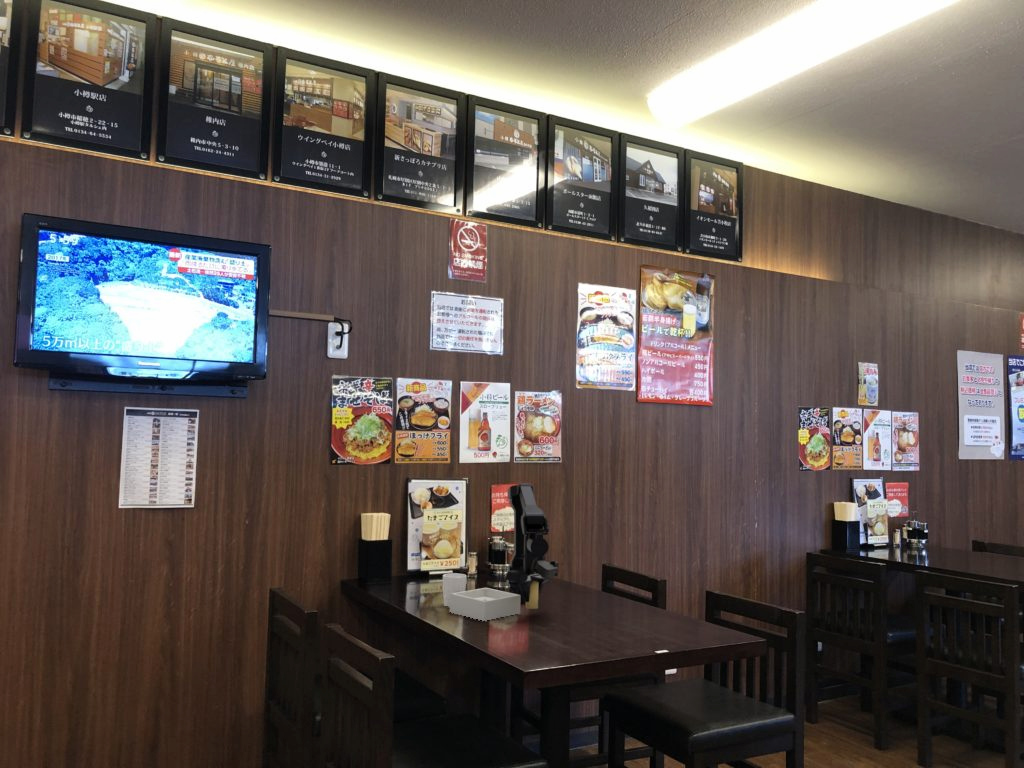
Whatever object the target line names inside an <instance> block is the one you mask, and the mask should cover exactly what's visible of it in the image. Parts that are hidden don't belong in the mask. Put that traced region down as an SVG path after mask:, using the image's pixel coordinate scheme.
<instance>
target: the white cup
mask: <svg viewBox="0 0 1024 768" xmlns="http://www.w3.org/2000/svg"><path fill="white" fill-rule="evenodd" d="M466 584H467V575H466V574H464V573H456V572H453V573H452V572H451V573H444V574H443V575H442V597H443V606H444V607H445V606H448V607H447V608H450V594H451V593H457V592H463V591H466V588H467V587H466V586H467V585H466Z"/></svg>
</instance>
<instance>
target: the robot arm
mask: <svg viewBox="0 0 1024 768" xmlns="http://www.w3.org/2000/svg"><path fill="white" fill-rule="evenodd" d="M534 492H535V491H534V486H533V484H532V483H531V482H519V483H517V484H515V485H511V486H509V488H508V489H507V499H508V501H509V506H510V507H511V509H512V510H513V537H514V538H513V555H512V556H511V558H510V560H509V565H508V566H507V570H506V574H505V577H506V578H505V579H506V580H505V581H506V583H507V584H508V585H509V587H508V592H509V593H513V594H518V595H521V602H520V604H523V603H526V602H529V597H530V585H531V584H532V583H533V581H537V582H539V585H538V600H539V598H540V596H541V593H542V590H543V588H544V585H545V583H546V582H547V581H550V579H551V578H555V577H559V575H558V574H559V568H560V567H559V566H560V565H559V561H557V560H552V561H546V556H545V555H546V554H547V553H548V551H549V547H550V545H549V542H548V541H547V539H545V538H544V535H545V536H548V535H549V531H550V527H549V523H548V519H547V517H546V515H545V514H544V511H543V510H542V509H541V508H540V507H538V505H537V502H536V499H535V493H534Z"/></svg>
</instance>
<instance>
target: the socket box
mask: <svg viewBox="0 0 1024 768" xmlns="http://www.w3.org/2000/svg"><path fill="white" fill-rule="evenodd" d="M520 602H521V595H518V594H513V593H509V591H503V590H498V589H493V588H490V587H482V588H477V589H476V588H475V589H469V590H465V591H463V592H457V593H451V594H450V607H449V613H450V612H451V613H450V614H453V613H454V614H453V615H457V614H458V616H460V615H462V617H464V616H466V617H465V618H468V617H470V618H469V619H472V618H473V620H476V619H478V620H477V621H480V620H482V621H481V622H483V621H485V622H488V621H487V620H490V621H492V620H491V619H495V620H497V619H496V618H499V619H501V618H500V617H504V618H506V617H505V616H509V617H511V616H510V615H514V616H516V615H515V614H518V615H521V603H520Z"/></svg>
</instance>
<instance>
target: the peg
mask: <svg viewBox="0 0 1024 768" xmlns="http://www.w3.org/2000/svg"><path fill="white" fill-rule="evenodd" d="M538 585H539V582H537V581H533V583H532V584H531V585H530V597H529V602H525V608H526V609H527V610H528V609H529V610H537V609H539V599H538Z"/></svg>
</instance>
